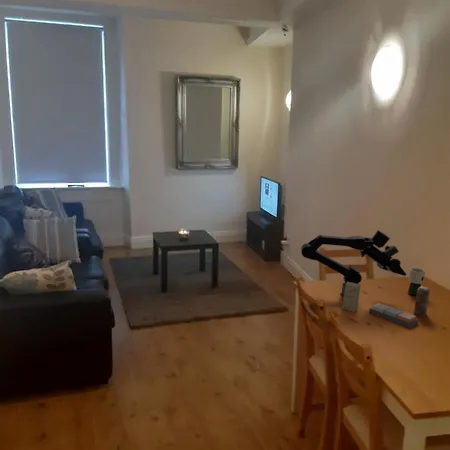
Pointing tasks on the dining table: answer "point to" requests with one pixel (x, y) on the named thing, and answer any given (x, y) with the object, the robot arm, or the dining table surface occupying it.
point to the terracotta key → (406, 317)
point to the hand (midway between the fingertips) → (402, 273)
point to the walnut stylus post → (421, 301)
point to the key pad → (390, 314)
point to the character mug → (415, 279)
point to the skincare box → (351, 296)
